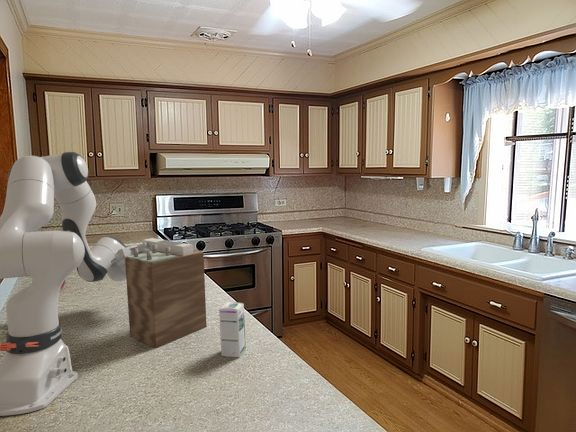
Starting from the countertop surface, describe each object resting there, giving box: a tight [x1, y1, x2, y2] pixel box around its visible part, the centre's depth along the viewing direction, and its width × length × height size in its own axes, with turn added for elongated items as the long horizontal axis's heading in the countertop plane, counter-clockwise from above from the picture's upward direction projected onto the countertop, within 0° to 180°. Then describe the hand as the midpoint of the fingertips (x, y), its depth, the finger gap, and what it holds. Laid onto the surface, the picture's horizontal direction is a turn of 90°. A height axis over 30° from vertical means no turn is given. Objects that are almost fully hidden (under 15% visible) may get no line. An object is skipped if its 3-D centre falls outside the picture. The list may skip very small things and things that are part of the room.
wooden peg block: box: [125, 245, 208, 349], centre depth 137 cm, size 14×20×29 cm
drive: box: [142, 237, 194, 256], centre depth 142 cm, size 22×4×3 cm, turn 53°
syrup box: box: [218, 301, 247, 358], centre depth 122 cm, size 6×6×14 cm
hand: (153, 242), depth 146 cm, fingers open, 4 cm apart
